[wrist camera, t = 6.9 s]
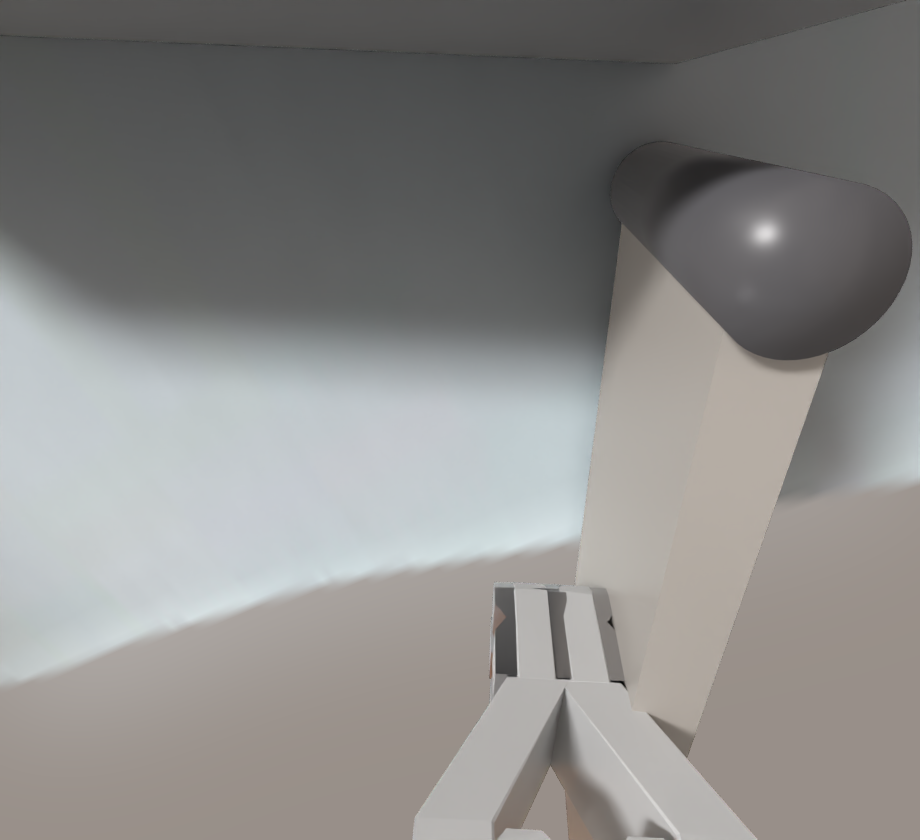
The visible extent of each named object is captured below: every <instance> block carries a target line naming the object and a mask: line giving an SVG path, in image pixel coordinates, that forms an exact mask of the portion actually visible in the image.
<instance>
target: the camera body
mask: <svg viewBox="0 0 920 840" xmlns="http://www.w3.org/2000/svg"><path fill="white" fill-rule="evenodd" d="M902 1H905V0H0V35H2V36H26V37H50V38H73V39H97V40H121V41H144V42H168V43H192V44H216V45H239V46H263V47H287V48H310V49H334V50H358V51H382V52H405V53H429V54H453V55H476V56H500V57H524V58H548V59H571V60H595V61H619V62H642V63H666V64H677V63H680V62H684V61H688V60H691V59H695V58H698V57H702V56H706V55H709V54H713V53H717V52H720V51H724V50H727V49H731V48H735V47H738V46H742V45H746V44H749V43H753V42H757V41H760V40H764V39H767V38H771V37H775V36H778V35H782V34H786V33H789V32H793V31H796V30H800V29H804V28H807V27H811V26H815V25H818V24H822V23H825V22H829V21H833V20H836V19H840V18H844V17H847V16H851V15H854V14H858V13H862V12H865V11H869V10H873V9H876V8H880V7H884V6H887V5H891V4H894V3H898V2H902Z"/></svg>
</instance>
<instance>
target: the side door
mask: <svg viewBox="0 0 920 840" xmlns="http://www.w3.org/2000/svg"><path fill="white" fill-rule="evenodd" d="M610 197H611V204H612V208H613V211H614V213H615V215H616V216H617V218H618V219H619V220H620V222H621V223H622V226H621V234H620V242H619V249H618V257H617V265H616V272H615V280H614V288H613V295H612V303H611V311H610V318H609V326H608V333H607V341H606V349H605V356H604V364H603V372H602V379H601V387H600V395H599V402H598V410H597V418H596V425H595V433H594V441H593V448H592V456H591V464H590V471H589V479H588V487H587V494H586V502H585V510H584V517H583V525H582V532H581V540H580V548H579V555H578V564H577V572H576V579H575V586H589V587H592V588H605V589H606V590H607V592H608V595H609V600H610V605H611V610H612V619H611V624H610V625H611V626H612V627H613V628H614V629H615V631H616V636H617V642H618V647H619V652H620V657H621V663H622V668H623V673H624V678H625V683H624V687H625V688H626V689H627V691H628V695H629V700H630V704H631V709H632V711H640V712H646V713H648V714H649V716H650V717H651V718H652V719H653V720H654V721H655V722H656V724H657V725H658V726H659V727H660V728H661V729H662V730H663V732H664V733H665V734H666V735H667V736H668V737H669V738H670V740H671V741H672V742H673V743H674V744H675V745H676V746H677V748H678V749H679V750H680V751H681V752H682V753H683V754H684V756H685V757H686V758H687V756H688V754H689V751H690V748H691V745H692V742H693V740H694V737H695V734H696V731H697V728H698V725H699V722H700V720H701V717H702V714H703V711H704V708H705V705H706V702H707V699H708V697H709V693H710V691H711V688H712V685H713V682H714V679H715V677H716V674H717V671H718V668H719V665H720V662H721V659H722V657H723V654H724V651H725V648H726V645H727V642H728V639H729V636H730V634H731V631H732V628H733V625H734V622H735V619H736V616H737V614H738V611H739V608H740V605H741V602H742V599H743V596H744V594H745V591H746V588H747V585H748V582H749V579H750V576H751V574H752V571H753V568H754V565H755V562H756V559H757V556H758V553H759V551H760V548H761V545H762V542H763V539H764V536H765V533H766V531H767V528H768V525H769V522H770V519H771V516H772V513H773V511H774V508H775V505H776V502H777V499H778V496H779V493H780V491H781V488H782V485H783V482H784V479H785V476H786V473H787V471H788V468H789V465H790V462H791V459H792V456H793V453H794V451H795V448H796V445H797V442H798V439H799V436H800V433H801V431H802V428H803V425H804V422H805V419H806V416H807V413H808V410H809V408H810V405H811V402H812V399H813V396H814V393H815V390H816V388H817V385H818V382H819V379H820V376H821V373H822V370H823V368H824V365H825V362H826V359H827V356H828V353H829V352H831V351H834V350H836V349H838V348H840V347H842V346H844V345H846V344H847V343H849V342H851V341H853V340H854V339H856V338H857V337H859V336H860V335H861V334H863V333H864V332H865V331H867V330H868V329H869V328H870V327H871V326H872V325H873V324H875V323H876V322H877V321H878V320H879V319H880V317H881V316H882V315H883V314H884V313H885V312H886V311H887V309H888V308H889V307H890V306H891V304H892V303H893V302H894V300H895V298H896V297H897V295H898V293H899V292H900V290H901V288H902V286H903V283H904V281H905V279H906V276H907V273H908V270H909V267H910V261H911V256H912V239H911V231H910V228H909V224H908V221H907V219H906V217H905V215H904V213H903V211H902V210H901V209H900V207H899V206H898V205H897V204H896V202H895V201H893V200H892V199H891V198H890V197H889V196H888V195H886V194H885V193H883V192H882V191H880V190H878V189H876V188H874V187H871V186H869V185H866V184H861V183H857V182H852V181H847V180H843V179H838V178H833V177H829V176H824V175H819V174H815V173H810V172H805V171H801V170H796V169H791V168H787V167H782V166H777V165H773V164H768V163H763V162H759V161H754V160H749V159H745V158H740V157H735V156H731V155H726V154H721V153H717V152H712V151H707V150H703V149H698V148H693V147H689V146H684V145H679V144H675V143H670V142H662V141H661V142H652V143H648V144H646V145H643V146H641V147H639V148H637V149H636V150H634V151H633V152H631V153H630V154H629V155H628V156H627V157H626V158H625V159H624V160H623V161H622V163H621V164H620V165H619V167H618V169H617V171H616V173H615V175H614V177H613V181H612V184H611V193H610ZM565 795H566V809H567V822H568V835H569V840H593V838H592V836H591V835H590V833H589V831H588V829H587V828H586V826H585V824H584V822H583V821H582V819H581V817H580V815H579V814H578V812H577V810H576V809H575V807H574V805H573V803H572V802H571V800H570V798H569V796H568V795H567V793H566V791H565Z"/></svg>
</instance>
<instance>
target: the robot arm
mask: <svg viewBox="0 0 920 840" xmlns="http://www.w3.org/2000/svg"><path fill="white" fill-rule="evenodd" d="M611 619H612V610H611V605H610V600H609V595H608V592H607V590H606V589H605V588H592V587H589V586H570V585H555V584H534V583H520V582H513V583H507V582H494V588H493V612H492V617H491V634H490V670H489V678H490V679H491V685H490V701H489V705H488V707H487V708H486V710H485V711H484V713H483V714H482V716H481V717H480V719H479V720H478V722H477V724H476V725H475V726H474V728H473V729H472V731H471V733H470V734H469V736H468V737H467V739H466V740H465V742H464V743H463V745H462V746H461V748H460V749H459V751H458V753H457V754H456V755H455V757H454V759H453V760H452V762H451V763H450V765H449V766H448V768H447V769H446V771H445V772H444V774H443V775H442V777H441V778H440V780H439V781H438V783H437V784H436V786H435V788H434V789H433V790H432V792H431V794H430V795H429V797H428V798H427V800H426V801H425V803H424V804H423V806H422V807H421V809H420V810H419V812H418V813H417V815H416V816H415V819H414V828H413V838H412V840H551V839H550V838H549V837H548V836H547V835H546V834H545V833H544V832H543V831H542V830H530V829H521V827H522V825H523V823H524V821H525V819H526V816H527V814H528V812H529V810H530V808H531V806H532V803H533V802H534V799H535V797H536V795H537V793H538V791H539V789H540V786H541V784H542V782H543V780H544V778H545V776H546V774H547V771H548V769H549V767H550V765H551V767H552V769H553V770H554V772H555V774H556V776H557V777H558V779H559V781H560V782H561V784H562V786H563V788H564V789H565V791H566V793H567V795H568V796H569V798H570V800H571V802H572V803H573V805H574V807H575V809H576V810H577V812H578V814H579V815H580V817H581V819H582V821H583V822H584V824H585V826H586V828H587V829H588V831H589V833H590V835H591V836H592V838H593V840H758V839H757V838H756V837H755V836H754V835H753V833H751V831H750V830H749V829H748V828H747V827H746V825H745V824H744V823H743V822H742V821H741V820H740V819H739V817H738V816H737V815H736V814H735V813H734V812H733V811H732V809H731V808H730V807H729V806H728V805H727V804H726V803H725V802H724V800H723V799H722V798H721V797H720V796H719V795H718V793H717V792H716V791H715V790H714V789H713V788H712V787H711V785H710V784H709V783H708V782H707V781H706V780H705V779H704V777H703V776H702V775H701V774H700V773H699V772H698V770H697V769H696V768H695V767H694V766H693V765H692V764H691V762H690V761H689V760H688V759H687V758H686V757H685V756H684V754H683V753H682V752H681V751H680V750H679V749H678V748H677V746H676V745H675V744H674V743H673V742H672V741H671V740H670V738H669V737H668V736H667V735H666V734H665V733H664V732H663V730H662V729H661V728H660V727H659V726H658V725H657V724H656V722H655V721H654V720H653V719H652V718H651V717H650V716H649V714H648V713H646V712H640V711H632V709H631V704H630V700H629V695H628V691H627V689H626V688H625V687H624V683H625V678H624V673H623V668H622V663H621V657H620V652H619V647H618V642H617V636H616V631H615V629H614V628H613V627H612V626H611V625H610V624H611Z"/></svg>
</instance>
